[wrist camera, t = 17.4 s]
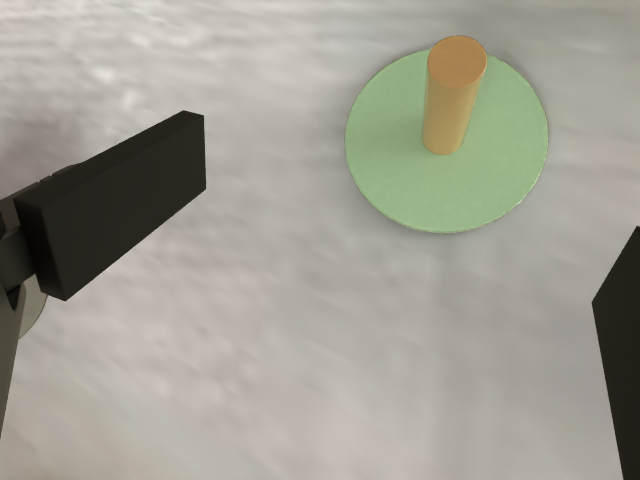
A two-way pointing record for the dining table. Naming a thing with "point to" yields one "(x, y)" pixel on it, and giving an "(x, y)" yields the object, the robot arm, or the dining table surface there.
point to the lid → (446, 138)
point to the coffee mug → (31, 304)
